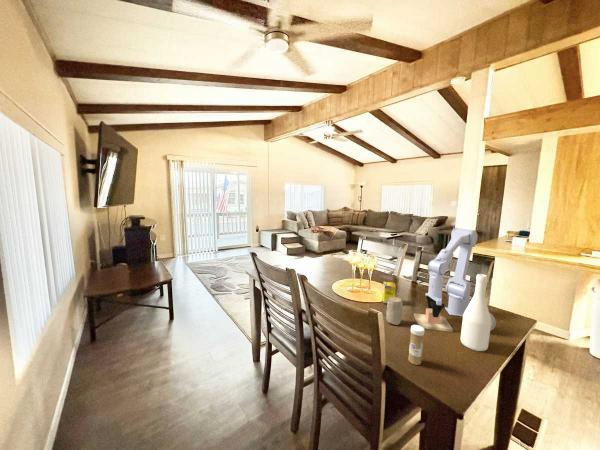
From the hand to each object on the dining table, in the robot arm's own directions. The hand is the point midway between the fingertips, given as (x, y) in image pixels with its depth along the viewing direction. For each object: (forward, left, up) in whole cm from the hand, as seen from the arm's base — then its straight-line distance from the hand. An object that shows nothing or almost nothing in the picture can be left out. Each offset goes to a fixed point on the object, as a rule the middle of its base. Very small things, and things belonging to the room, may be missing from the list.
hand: (433, 313), depth 124 cm
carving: (+18, +4, -5) cm, 19 cm away
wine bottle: (-12, +15, -5) cm, 20 cm away
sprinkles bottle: (+14, +32, -5) cm, 35 cm away
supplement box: (+18, -19, -5) cm, 27 cm away
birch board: (0, 0, -5) cm, 5 cm away
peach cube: (0, 0, -4) cm, 4 cm away
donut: (-20, +2, -5) cm, 21 cm away
